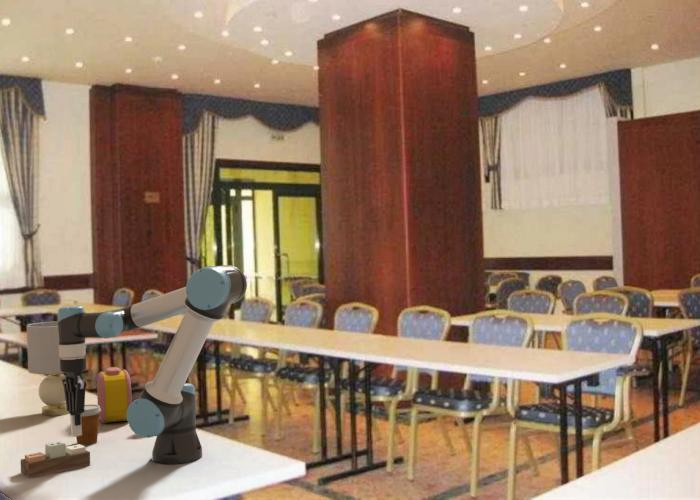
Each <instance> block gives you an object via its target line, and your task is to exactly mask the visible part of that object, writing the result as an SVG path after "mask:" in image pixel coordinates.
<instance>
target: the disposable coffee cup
mask: <svg viewBox="0 0 700 500" xmlns="http://www.w3.org/2000/svg"><path fill="white" fill-rule="evenodd" d="M100 411H101V409H100V406H99V405H98V404H93V403H91V404H85V406H84V412H83V413H82V414H81V424H82V435H80V436H75V437H76V445H79V444H80V445H82V446H90V445H93V444H96V443H97V442H98V435H99V434H98V433H99V425H100V417H99V416H100Z"/></svg>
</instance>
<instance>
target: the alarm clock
mask: <svg viewBox="0 0 700 500" xmlns="http://www.w3.org/2000/svg"><path fill="white" fill-rule="evenodd" d="M96 377H97V378H96V392H97V393H96V395H97V397H96V398H97V405H99V406H100V409H101V411H100V416H99V421H100V422H101V423H103V424H107V423H116V422H124V421H126V422H128V421H127V409H128V407H129V405H130V404H131V403H132V402H133V400H132V382H131V376H130V374H129V373H128V370H127V369H121V368H119V367H118V366H117V367H116V366H111V367H107V368H106V369H105V371H100V372H98V374H97V376H96Z"/></svg>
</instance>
